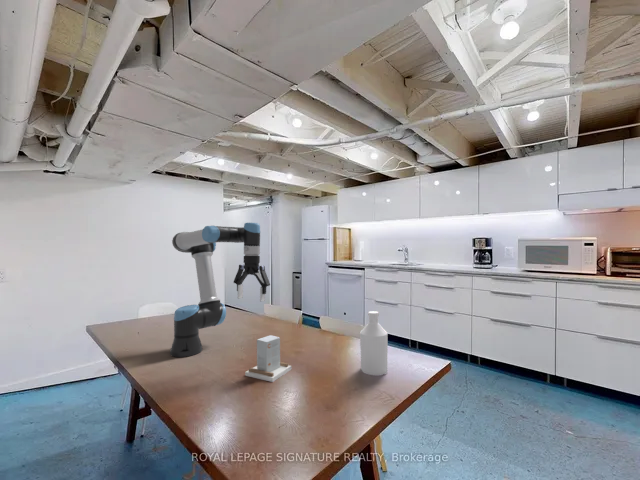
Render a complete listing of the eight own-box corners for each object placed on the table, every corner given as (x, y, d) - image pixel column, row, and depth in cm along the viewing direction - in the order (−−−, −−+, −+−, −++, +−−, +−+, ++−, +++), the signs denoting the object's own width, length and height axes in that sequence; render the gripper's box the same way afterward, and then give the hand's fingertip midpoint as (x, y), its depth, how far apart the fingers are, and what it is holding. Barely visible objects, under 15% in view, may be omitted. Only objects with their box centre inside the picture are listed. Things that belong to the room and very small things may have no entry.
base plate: (245, 375, 124) (245, 369, 124) (265, 363, 137) (265, 358, 137) (272, 382, 118) (272, 375, 118) (291, 369, 131) (291, 363, 131)
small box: (270, 364, 133) (270, 334, 133) (280, 367, 129) (280, 337, 129) (256, 369, 126) (256, 339, 127) (266, 373, 122) (266, 341, 123)
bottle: (389, 366, 133) (388, 310, 134) (386, 377, 122) (385, 316, 122) (363, 363, 137) (362, 308, 137) (358, 373, 125) (357, 314, 126)
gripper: (226, 254, 144) (225, 298, 144) (268, 256, 132) (267, 303, 132) (237, 254, 150) (236, 295, 150) (277, 255, 139) (277, 300, 139)
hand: (251, 299), depth 141 cm, fingers open, 13 cm apart
